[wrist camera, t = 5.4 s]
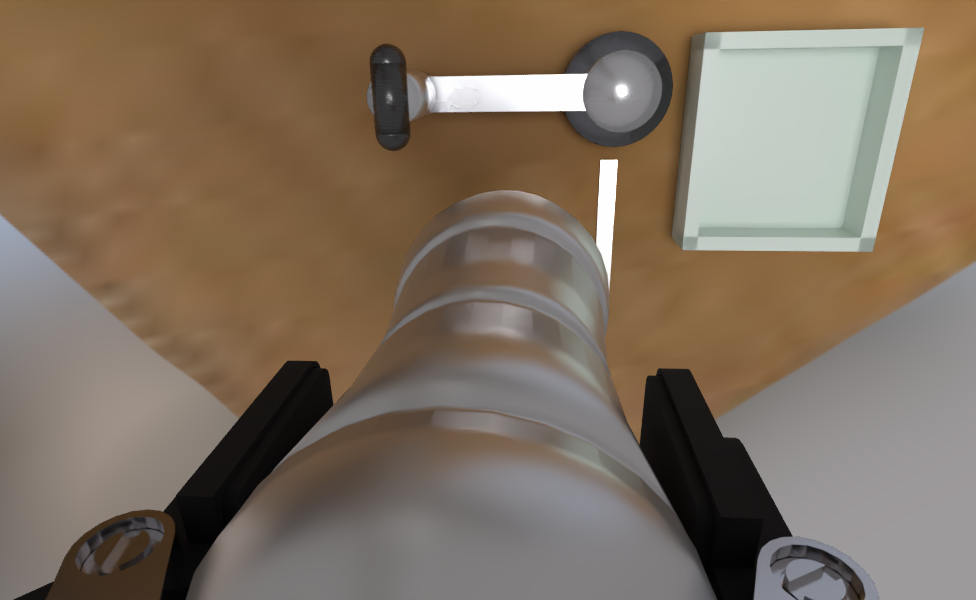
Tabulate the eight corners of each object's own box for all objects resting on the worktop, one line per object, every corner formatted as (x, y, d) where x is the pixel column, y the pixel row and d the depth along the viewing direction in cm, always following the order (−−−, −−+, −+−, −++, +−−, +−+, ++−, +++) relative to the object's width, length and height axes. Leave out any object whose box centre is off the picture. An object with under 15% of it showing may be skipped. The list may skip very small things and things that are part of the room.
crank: (658, 44, 31) (694, 36, 24) (651, 134, 33) (682, 151, 25) (395, 50, 32) (354, 43, 25) (401, 136, 34) (364, 153, 27)
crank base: (562, 34, 33) (564, 32, 31) (670, 32, 33) (678, 30, 31) (555, 296, 39) (556, 307, 37) (646, 298, 39) (652, 309, 37)
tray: (691, 35, 33) (705, 32, 30) (890, 31, 32) (924, 27, 29) (671, 236, 37) (682, 249, 34) (846, 237, 36) (872, 251, 33)
